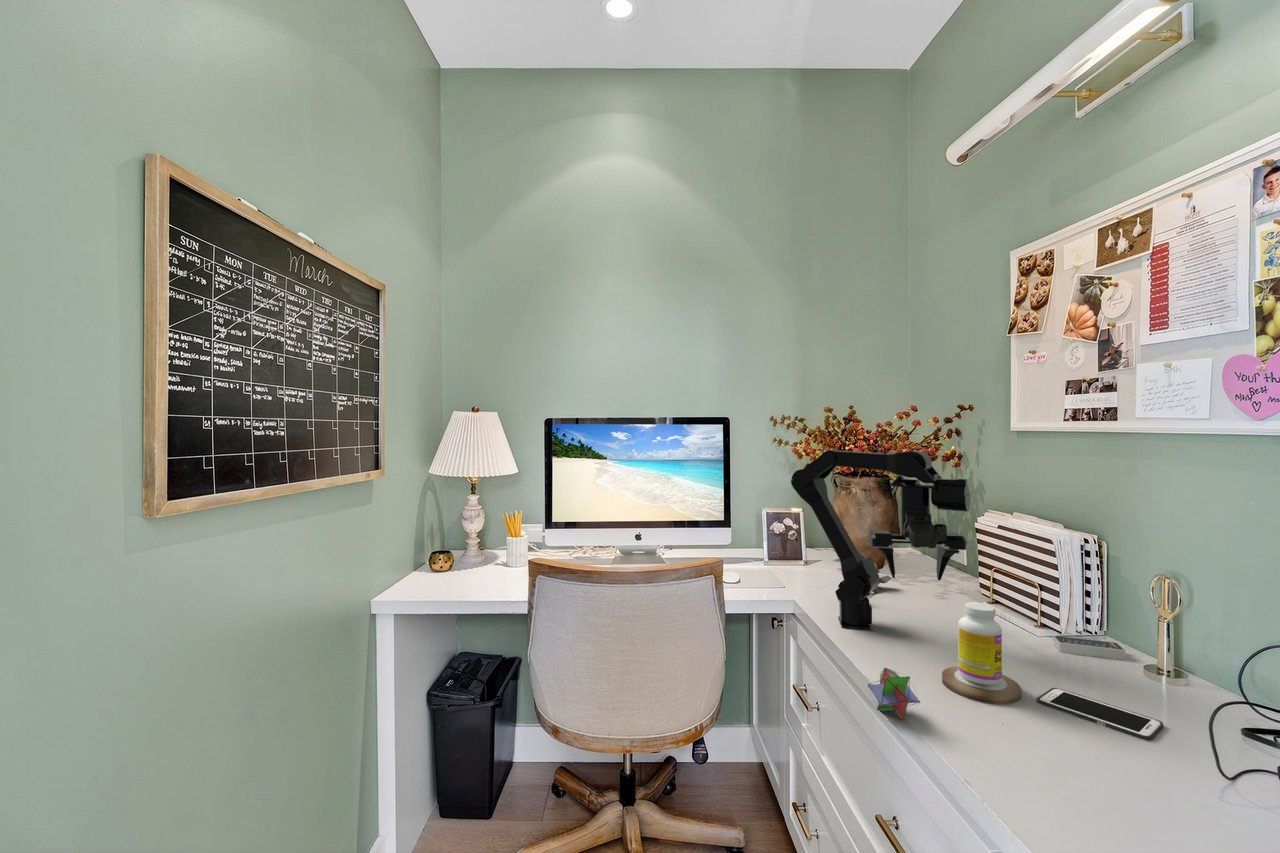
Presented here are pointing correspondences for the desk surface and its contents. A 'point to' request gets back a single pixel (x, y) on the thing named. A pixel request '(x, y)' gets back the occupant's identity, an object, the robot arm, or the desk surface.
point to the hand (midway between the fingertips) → (915, 578)
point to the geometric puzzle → (893, 692)
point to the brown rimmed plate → (982, 688)
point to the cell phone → (1102, 713)
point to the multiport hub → (1089, 647)
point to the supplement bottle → (980, 645)
